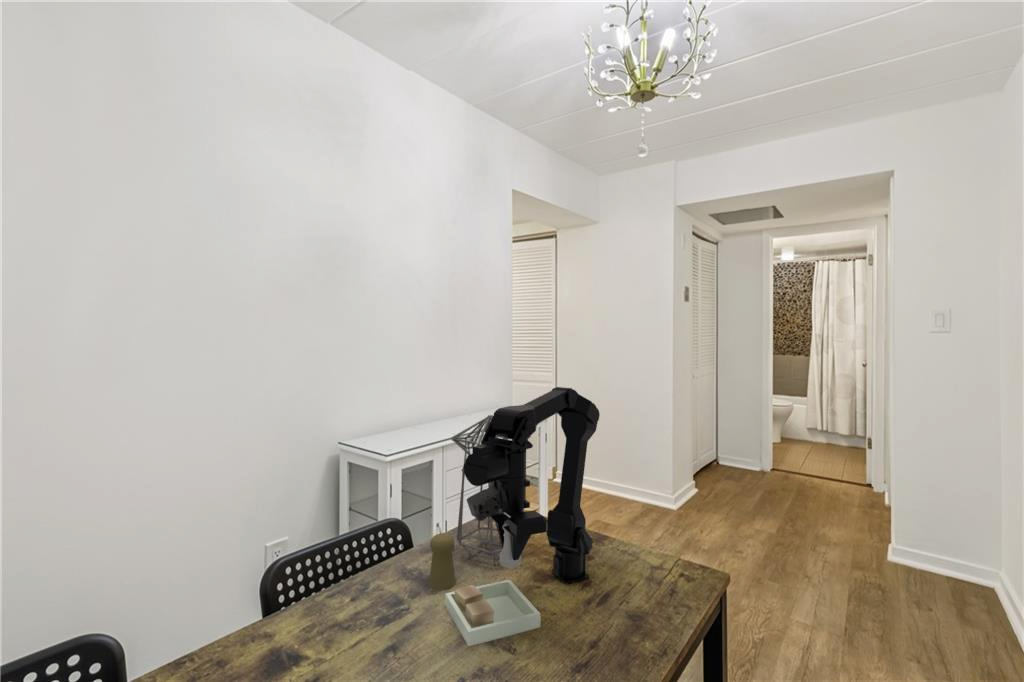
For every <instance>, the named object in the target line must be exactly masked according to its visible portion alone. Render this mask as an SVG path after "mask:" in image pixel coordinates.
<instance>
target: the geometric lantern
mask: <svg viewBox="0 0 1024 682" xmlns="http://www.w3.org/2000/svg"><path fill="white" fill-rule="evenodd" d="M493 416H494V414H491V415H490V414H488V415H487V416H486V417H484V418H482V419H481V420H479V421H478V422H475V423H474V424H472V425H471V426H469V427H467V428H465V429H464V430H462V431H460V432H458V433H457V434H454V435H452V437H451V438H450V440H451V441H452V442H454V443H455V444H456V445H457V446H458V447H459V448H460V449H461V450H462V451H463V452H464V459H463V467H462V469H461V473H462V475H461V489H460V497H459V499H460V501H459V510H458V511H459V512H458V521H457V532H456V533H457V534H456V542H457V544H458V545H460V546H461V547H462V549H464V550H465V551H467V553H468V559H467V560H469V561H472V559H473V558H475V557H476V556H480V557H483V558H488V559H492V560H493V566H494V567H495V566H496V560H497V565H498V566H501V564H500V563H499V559H500V557H499V555H500V553H501V552H502V546H501V543H498V542H493V531H495V532H498V531H497V528H493V519H492V518H491V517H487V527H481V521H478V520H477V521H478V522H477V528H476V529H473V530H472V531H470V532H468V533H467V534H464V535H463V518H464V517H463V513H464V489H465V478H466V476H465V473H464V464H465V461H466V459H467V457H468V456H469V455H471V454H472V453H471V450H470V449H472V450H473V447H475V446H483V445H482V444H481V441H482V439H483V436H484V434H485V432H486V430H487V428H488V426H489V424H490V421H491V419H492V417H493ZM473 428H474V429H473ZM470 430H471V431H470ZM468 431H470V432H469V433H468V434H467V435H466V436H462V435H464V434H465V433H467V432H468ZM495 438H499V437H497V436H496V437H495ZM530 438H532V435H531V436H530V437H529V438H528V439H527V440H528V441H529V439H530ZM468 439H470V440H468ZM502 439H506V438H502ZM506 440H509V439H506ZM511 440H512V439H511ZM477 441H478V442H477ZM512 441H513V440H512ZM463 443H464V444H463ZM470 445H471V446H470ZM487 484H488V487H487V488H489V487H491V482H490V483H487ZM479 487H480V491H482V490H483V485H481V486H479ZM480 491H479V492H480ZM481 530H482V531H483V530H487V531H486V537H485V541H484V540H483V536H482V533H481ZM477 532H478V533H479V537H480V542H479V543H478V544H476V545H474V546H473V545H470V544H466V543H463V542H462V540H464V539H465V538H467V537H469V536H471V535H473V534H474V533H477ZM488 537H489V541H488ZM483 544H484V548H483ZM488 544H489V548H488V547H487V545H488ZM493 545H494V546H495V545H497V546H500V549H493ZM479 546H480V547H479ZM468 548H470V550H469V549H468ZM475 550H476V551H477V552H472V551H475ZM480 552H483V553H487V554H491V556H489V555H486V554H481V553H480ZM494 554H499V555H498V556H497V557H496V556H495V555H494Z"/></svg>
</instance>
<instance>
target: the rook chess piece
mask: <svg viewBox="0 0 1024 682" xmlns="http://www.w3.org/2000/svg"><path fill="white" fill-rule="evenodd" d="M504 526H509V522H508V520H506V521H504V525H503V526H502V528H503V527H504ZM503 529H504V528H503ZM504 532H505V533H504V534H503V535H504V545H503V549H502V552H499V554H500V555H498V556H499V557H500V559H499V563H500V566H502V567H503V568H506V569H515V568H517V567H519V566H520V565H521V564H522V563H523V562H522V555H521V556H520V558H519V559H518V560H513V557H512V551H511V541H510V534H509V533H508V532H507V531H506V530H505V529H504Z"/></svg>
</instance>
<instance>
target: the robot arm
mask: <svg viewBox="0 0 1024 682" xmlns="http://www.w3.org/2000/svg"><path fill="white" fill-rule="evenodd" d="M556 414H557V415H558V416H559V417H560V426H561V429H562V432H563V434H564V437H565V445H564V446H565V447H564V453H563V460H562V461H563V462H562V470H561V479H560V486H559V487H560V488H559V493H558V494H559V495H558V502H557V504H556V505H555V506H554V508H553V509H549V510H548V512H547V519H546V517H545V516H543V515H542V514H541V513H539V512H538V511H536V510H534V509H533V510H527V511H524V509H529V508H530V507H531V506H530V505H531V502H530V501H528V500H527V495H526V494H527V487H530V486H531V480H530V479H527V450H528V449H529V450H530V449H533V447H534V445H533V443H532V442H531V441H529V439H530V436H531V437H532V435H534V434H535V432H536V431H537V427H538V425H539V424H540V423H542V422H543V421H545V420H548V419H550V417H552V416H554V415H556ZM599 421H600V410H599V408H597V406H596V404H595V403H593V402H592V401H591V400H589V399H588V398H586V397H585V396H582V395H581V394H579V393H578V392H577V390H576V389H573V388H572V387H564V386H563V387H562V386H560V387H559V386H557V387H553V388H552V389H551V391H547V392H546V393H544V394H543V395H542V394H541V395H540V396H538V397H536V398H534V399H532V400H530V401H528V402H526V403H524V404H519V405H508V406H504V407H503V406H502V407H500V408H497V409H496V410H495V411H494V413H493V417H492V419H491V421H490V424H489V426H488V428H487V430H486V432H484V434H483V437H482V439H481V442H480V444H482V445H483V446H477V445H475V446H474V447H473V449H472V453H470V454H471V455H469V456H468V455H467V456H466V461H465V464H464V463H463V466H464V473H465V478H466V480H467V481H468V482H469V483H470V484H471V485H472V486H474V487H481V485H486V484H488V483H490V482H491V487H489V488H488V487H487V488H485V489H482V491H478V492H476V493H474V494H472V495H470V496H469V497H467V499H466V502H467V505H468V508H469V511H470V515H471V516H472V517H474V518H475V519H476V520H477V521H480V522H481V521H484V520H486V519H488V517H491V518H492V521H493V522H494V523H495V528H496V529H497V531H496V532H497V534H498V539H499V542H500V544H501V545H500V547H501V546H502V549H503V545H504V535H503V534H504V533H505V532H504V529H505V530H506V531H507V532H508V533H509V534H510V541H511V551H512V557H513V560H518V559H519V558H520V556H521V557H522V553H523V552H524V549H525V547H526V546H527V544H528V541H529V540H530V539H531V537H532V535H540V534H543V533H546V537H547V540H548V545H549V547H553V548H555V549H554V554H553V557H552V559H553V561H552V562H553V563H552V564H553V565H552V569H551V573H552V574H554V575H555V576H556V578H557V579H559V580H560V581H561V582H563V584H571V583H576V582H579V581H584V580H587V579H590V575H589V574H588V573H586V564H587V563H586V562H587V561H586V559H587V558H586V556H588V555H590V554H591V551H592V549H593V545H594V544H593V543H594V540H593V538H592V537H591V536H590V535H589V533H588V532H587V530H586V517H585V515H584V512H583V510H582V506H581V501H582V494H583V493H582V491H583V483H584V475H585V467H586V458H587V448H588V442H589V440H590V439H591V438H592V437H593V436H594V434H595V433H596V432H597V428H598V427H597V426H598V422H599ZM496 436H497V437H498V438H495V437H496ZM503 438H506V439H508V440H506V439H503ZM528 438H529V439H528ZM527 439H528V440H527ZM512 440H513V441H512ZM506 520H508V522H509V526H504V527H503V528H504V529H503V528H502V526H503V525H504V521H506Z"/></svg>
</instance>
